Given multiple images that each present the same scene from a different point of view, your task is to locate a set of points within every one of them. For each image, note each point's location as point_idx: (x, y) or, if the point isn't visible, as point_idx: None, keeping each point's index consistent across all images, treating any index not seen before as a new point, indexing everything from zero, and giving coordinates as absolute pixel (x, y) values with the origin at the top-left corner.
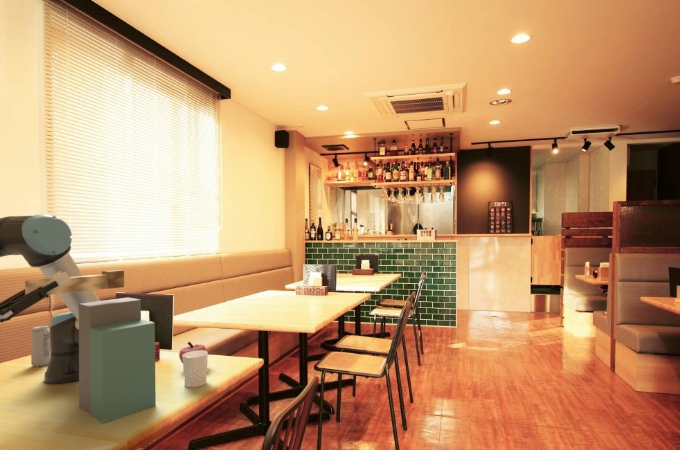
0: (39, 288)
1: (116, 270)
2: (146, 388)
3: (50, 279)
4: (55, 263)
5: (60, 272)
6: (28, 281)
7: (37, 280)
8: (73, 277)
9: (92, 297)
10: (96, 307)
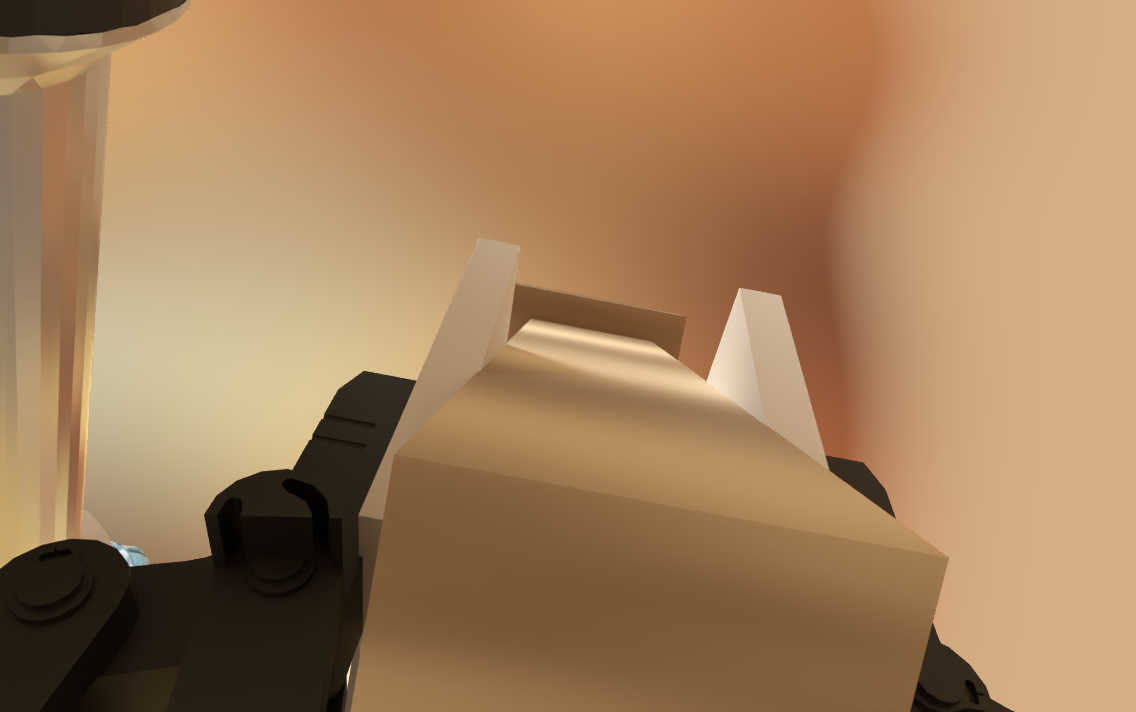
0: (989, 709)
1: (597, 298)
2: None
3: (726, 417)
4: (75, 61)
5: (517, 267)
6: (852, 547)
7: (762, 466)
8: (646, 364)
9: (85, 464)
10: None
